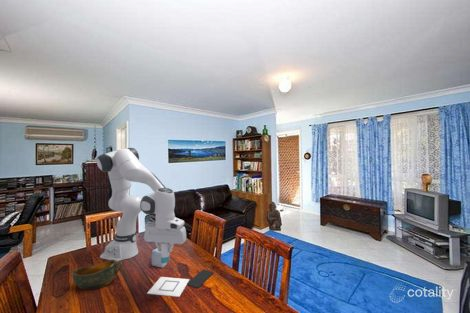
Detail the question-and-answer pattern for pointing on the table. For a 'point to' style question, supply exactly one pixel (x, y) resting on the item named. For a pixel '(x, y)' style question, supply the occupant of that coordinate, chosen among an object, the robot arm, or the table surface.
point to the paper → (169, 286)
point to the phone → (200, 278)
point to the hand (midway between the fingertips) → (165, 251)
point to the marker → (165, 252)
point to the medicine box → (157, 259)
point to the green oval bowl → (96, 275)
